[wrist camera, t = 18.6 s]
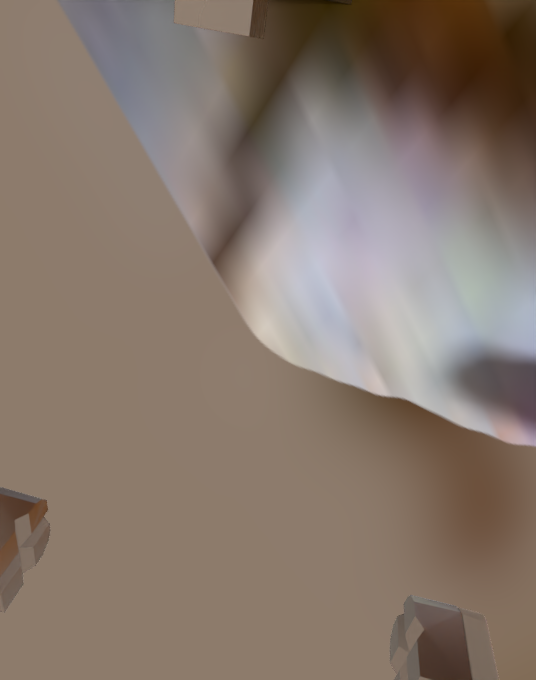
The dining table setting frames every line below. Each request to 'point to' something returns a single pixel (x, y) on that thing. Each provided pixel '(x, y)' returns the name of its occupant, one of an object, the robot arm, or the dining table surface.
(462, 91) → the dining table surface
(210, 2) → the grey rectangular block
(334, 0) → the riser block
